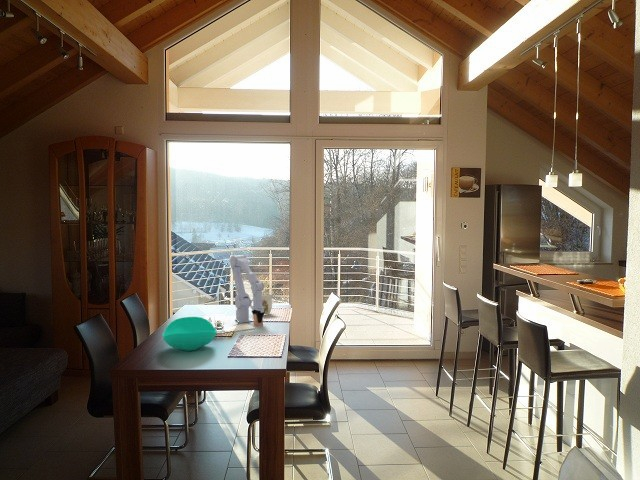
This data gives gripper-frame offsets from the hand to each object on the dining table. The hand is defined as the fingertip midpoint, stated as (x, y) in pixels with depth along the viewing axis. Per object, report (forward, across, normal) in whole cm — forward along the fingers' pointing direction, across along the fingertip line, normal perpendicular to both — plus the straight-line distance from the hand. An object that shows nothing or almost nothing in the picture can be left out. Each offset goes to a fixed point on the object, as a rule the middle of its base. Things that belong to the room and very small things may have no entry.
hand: (258, 321), depth 317 cm
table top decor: (+2, -31, +53) cm, 61 cm away
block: (+2, 0, 0) cm, 2 cm away
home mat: (+2, -2, +15) cm, 15 cm away
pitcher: (+2, +28, -16) cm, 32 cm away
